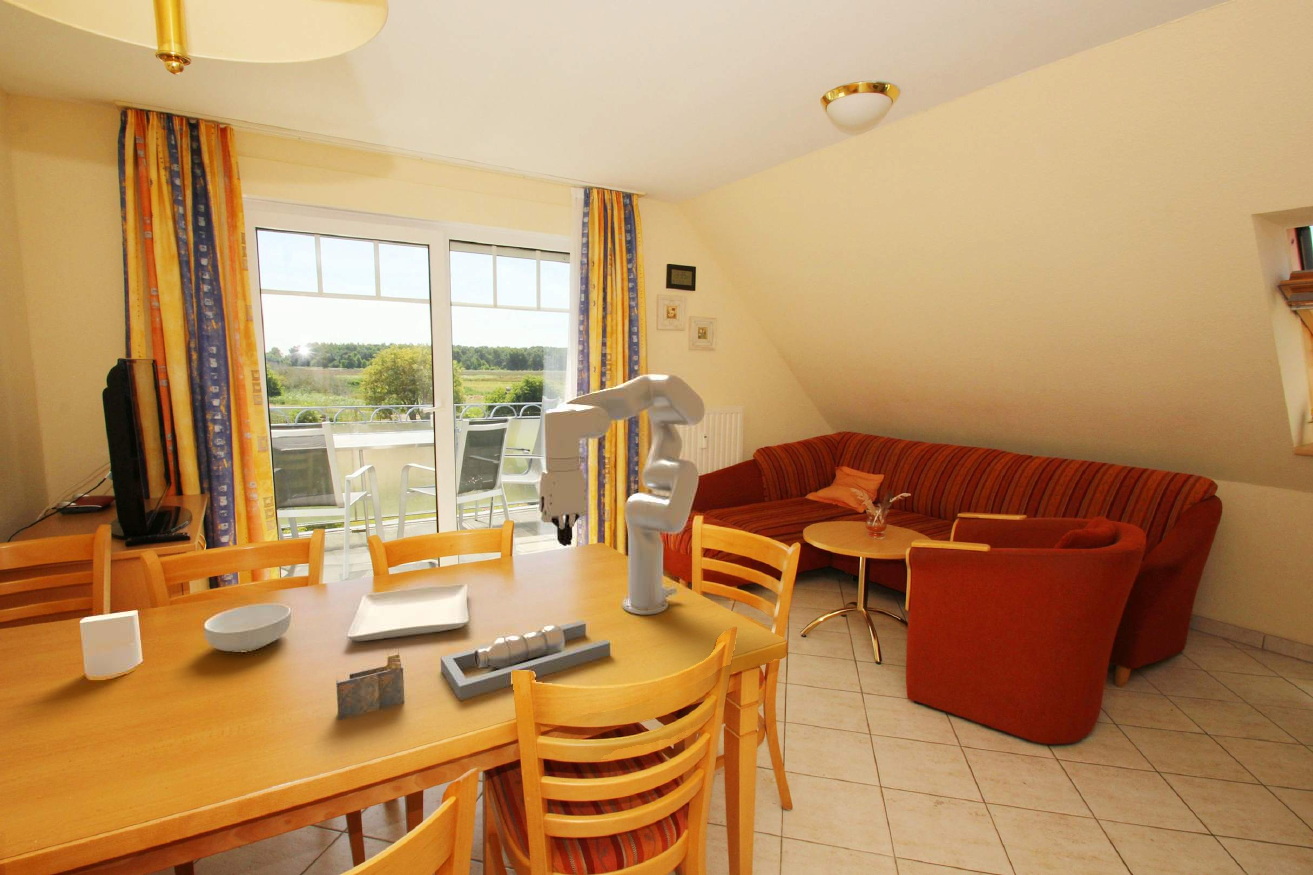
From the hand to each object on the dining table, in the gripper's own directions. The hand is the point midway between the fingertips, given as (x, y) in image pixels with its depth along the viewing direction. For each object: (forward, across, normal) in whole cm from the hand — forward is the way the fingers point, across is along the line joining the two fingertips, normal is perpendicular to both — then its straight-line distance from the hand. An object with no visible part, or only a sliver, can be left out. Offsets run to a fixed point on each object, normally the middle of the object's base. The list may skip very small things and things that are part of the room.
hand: (565, 543), depth 134 cm
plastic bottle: (+23, +1, -1) cm, 23 cm away
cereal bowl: (+25, +61, -42) cm, 78 cm away
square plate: (+26, +26, -38) cm, 52 cm away
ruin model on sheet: (+25, +42, 0) cm, 49 cm away
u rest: (+26, +9, 0) cm, 27 cm away
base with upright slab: (+24, +85, -44) cm, 99 cm away
